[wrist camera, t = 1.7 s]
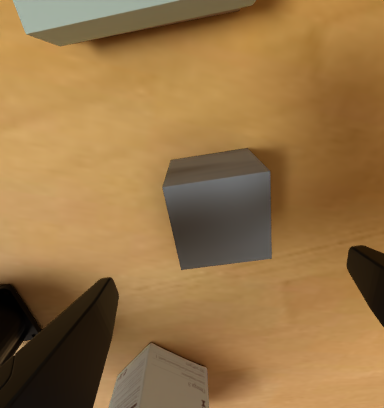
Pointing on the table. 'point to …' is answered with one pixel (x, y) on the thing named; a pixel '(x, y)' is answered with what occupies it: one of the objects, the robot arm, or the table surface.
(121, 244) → the table surface
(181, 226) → the grey cube
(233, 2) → the sage slab
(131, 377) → the supplement box
